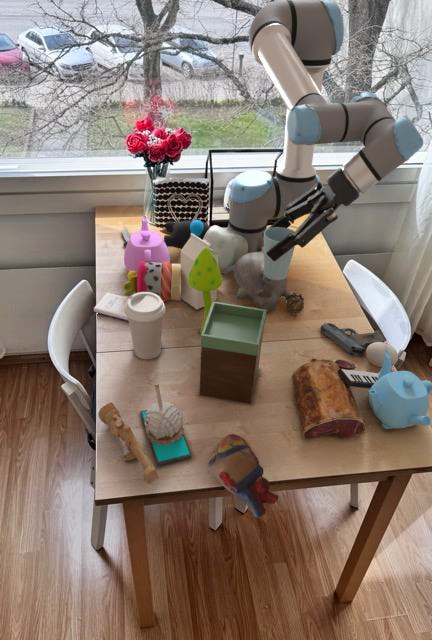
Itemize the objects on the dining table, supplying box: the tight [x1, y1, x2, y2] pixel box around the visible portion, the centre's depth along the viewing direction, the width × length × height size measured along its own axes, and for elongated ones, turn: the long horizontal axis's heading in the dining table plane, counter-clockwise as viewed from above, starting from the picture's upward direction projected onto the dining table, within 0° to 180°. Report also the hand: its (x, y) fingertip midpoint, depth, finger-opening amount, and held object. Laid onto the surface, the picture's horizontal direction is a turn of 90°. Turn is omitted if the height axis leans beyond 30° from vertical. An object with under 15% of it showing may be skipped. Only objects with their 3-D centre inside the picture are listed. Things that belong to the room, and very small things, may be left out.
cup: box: [264, 227, 296, 280], centre depth 128 cm, size 8×8×10 cm
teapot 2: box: [367, 350, 432, 430], centre depth 120 cm, size 15×14×11 cm
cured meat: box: [291, 357, 367, 439], centre depth 125 cm, size 18×25×7 cm
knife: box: [121, 226, 131, 247], centre depth 172 cm, size 17×1×5 cm
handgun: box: [320, 322, 388, 356], centre depth 142 cm, size 2×14×12 cm
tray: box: [200, 301, 267, 356], centre depth 118 cm, size 12×12×3 cm
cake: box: [122, 261, 181, 302], centre depth 148 cm, size 10×11×15 cm
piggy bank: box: [224, 252, 292, 314], centre depth 152 cm, size 18×16×14 cm
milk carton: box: [180, 233, 218, 310], centre depth 146 cm, size 7×7×19 cm
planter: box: [203, 224, 248, 276], centre depth 159 cm, size 12×12×11 cm
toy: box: [163, 219, 212, 250], centre depth 165 cm, size 9×11×15 cm
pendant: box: [285, 292, 305, 318], centre depth 148 cm, size 5×8×5 cm
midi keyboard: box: [338, 368, 379, 390], centre depth 126 cm, size 18×1×5 cm
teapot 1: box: [123, 215, 171, 273], centre depth 158 cm, size 20×13×12 cm, turn 9°
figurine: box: [98, 401, 159, 486], centre depth 111 cm, size 7×4×20 cm
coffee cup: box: [124, 292, 167, 360], centre depth 131 cm, size 10×10×15 cm
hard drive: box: [93, 292, 130, 322], centre depth 147 cm, size 2×8×12 cm
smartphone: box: [140, 409, 192, 467], centre depth 117 cm, size 7×1×15 cm
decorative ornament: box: [143, 382, 185, 446], centre depth 112 cm, size 8×8×15 cm
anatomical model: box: [207, 433, 279, 519], centre depth 109 cm, size 9×13×15 cm
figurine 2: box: [365, 340, 399, 368], centre depth 134 cm, size 8×6×7 cm
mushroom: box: [188, 248, 223, 334], centre depth 133 cm, size 8×8×25 cm
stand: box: [199, 327, 265, 405], centre depth 124 cm, size 12×12×15 cm
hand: (268, 247), depth 127 cm, fingers closed on cup, 8 cm apart
